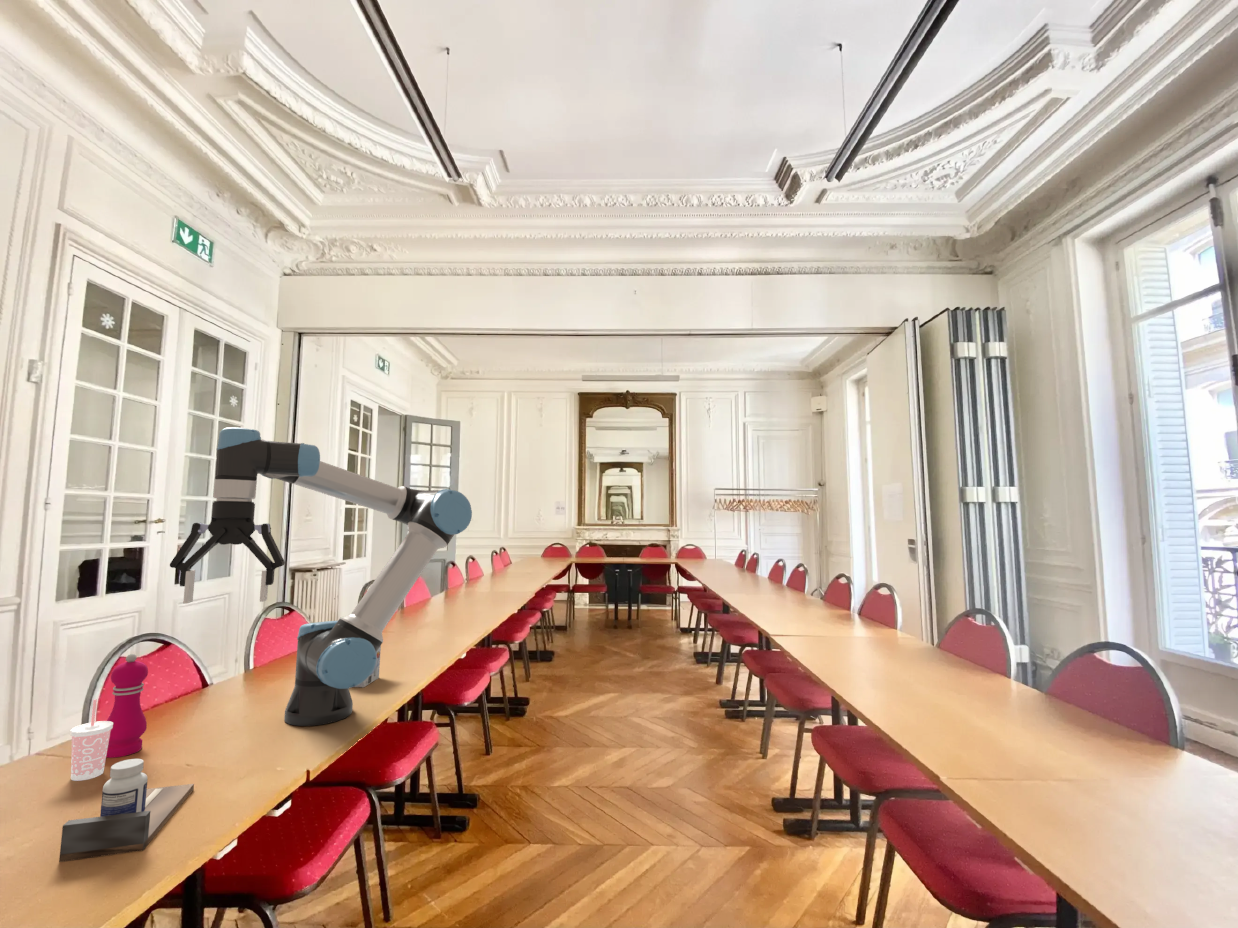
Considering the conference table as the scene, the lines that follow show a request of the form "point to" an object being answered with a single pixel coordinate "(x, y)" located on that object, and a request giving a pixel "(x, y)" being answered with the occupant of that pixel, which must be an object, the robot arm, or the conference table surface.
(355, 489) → the robot arm
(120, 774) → the pill bottle
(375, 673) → the light bulb box
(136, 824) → the board
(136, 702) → the pepper mill
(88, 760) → the beverage cup
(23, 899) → the conference table surface
